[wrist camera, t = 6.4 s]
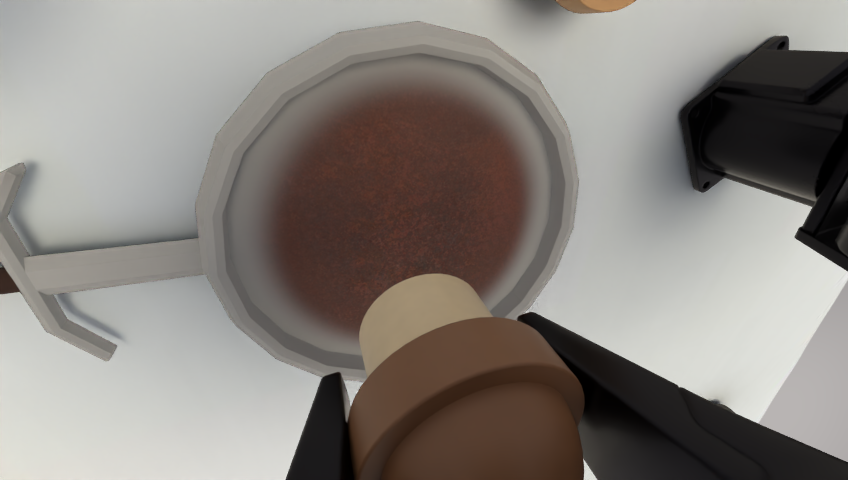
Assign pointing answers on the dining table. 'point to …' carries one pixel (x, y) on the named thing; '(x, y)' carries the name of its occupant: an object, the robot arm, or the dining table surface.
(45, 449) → the dining table surface
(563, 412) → the brown mushroom
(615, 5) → the tan mushroom
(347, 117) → the frying pan
